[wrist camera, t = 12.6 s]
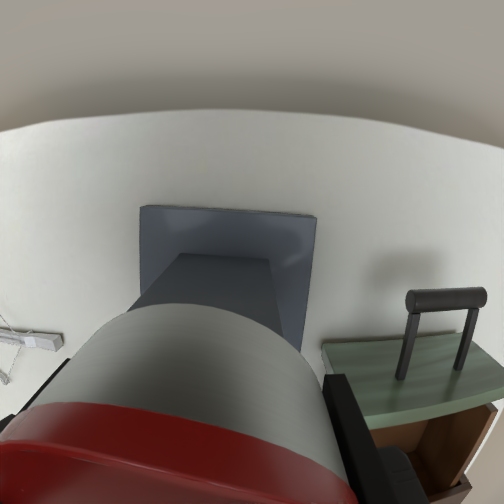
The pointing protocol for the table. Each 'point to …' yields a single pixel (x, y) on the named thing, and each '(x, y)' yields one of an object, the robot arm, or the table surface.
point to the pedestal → (229, 263)
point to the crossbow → (29, 342)
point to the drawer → (426, 388)
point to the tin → (177, 419)
